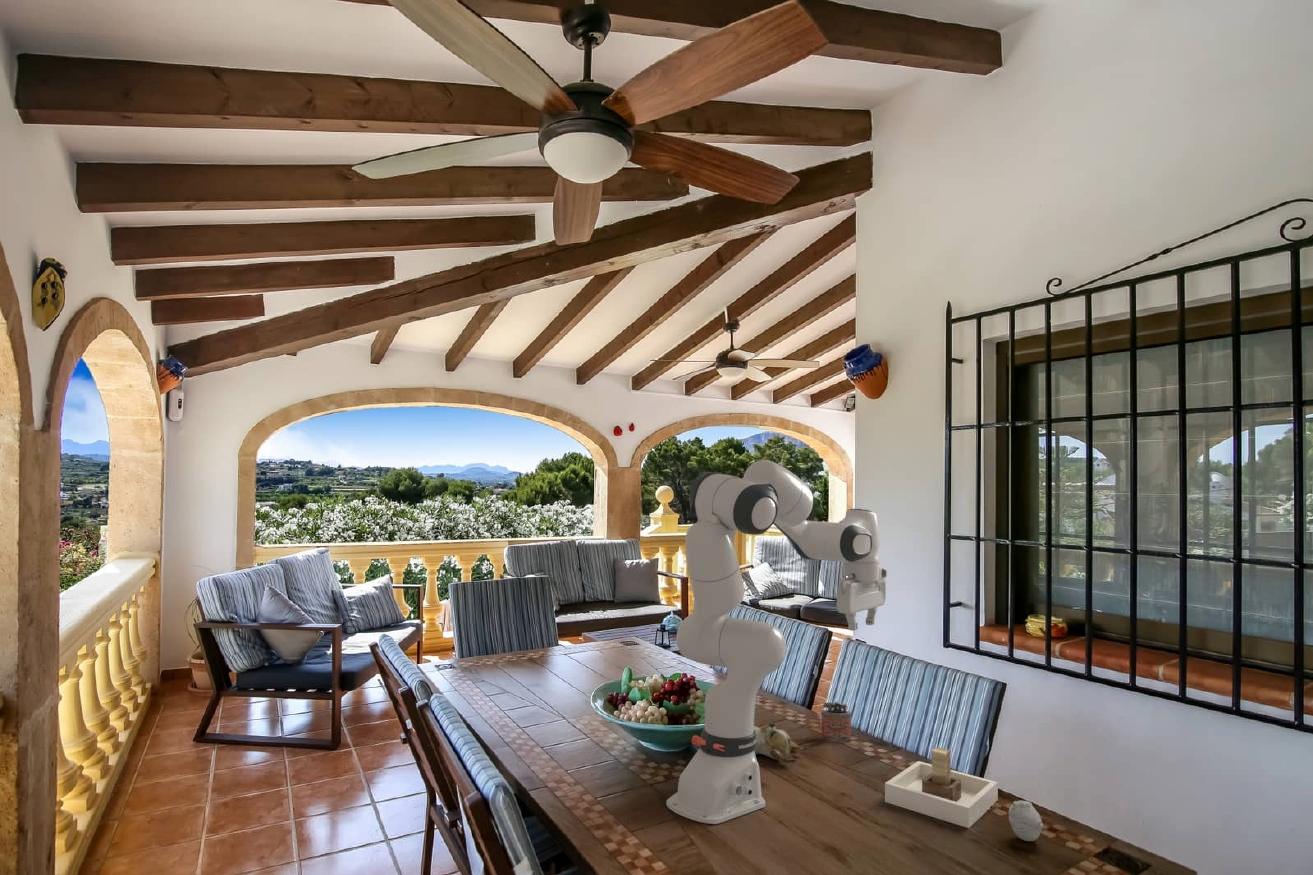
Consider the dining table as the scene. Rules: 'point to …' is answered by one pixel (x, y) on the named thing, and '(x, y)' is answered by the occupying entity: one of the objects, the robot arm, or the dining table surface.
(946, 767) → the tan wooden block
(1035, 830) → the grey rounded stone
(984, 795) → the tray
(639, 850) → the dining table surface
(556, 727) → the dining table surface
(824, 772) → the dining table surface
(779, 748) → the ceramic sculpture
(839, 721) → the lighter
